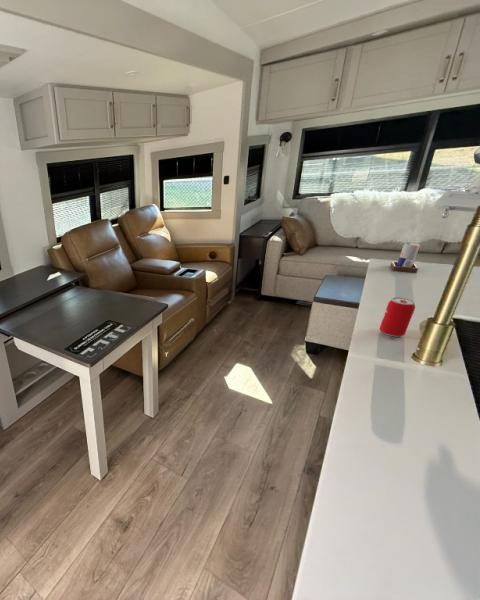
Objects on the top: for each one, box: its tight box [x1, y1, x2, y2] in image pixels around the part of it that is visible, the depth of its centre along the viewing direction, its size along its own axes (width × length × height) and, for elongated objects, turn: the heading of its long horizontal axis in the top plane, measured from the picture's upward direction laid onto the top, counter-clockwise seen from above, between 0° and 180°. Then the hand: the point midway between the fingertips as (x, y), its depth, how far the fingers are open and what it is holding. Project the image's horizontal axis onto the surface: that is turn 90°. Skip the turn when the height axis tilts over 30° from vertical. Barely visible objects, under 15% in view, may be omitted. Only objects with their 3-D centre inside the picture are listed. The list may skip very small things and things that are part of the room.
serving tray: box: [390, 261, 419, 274], centre depth 152 cm, size 8×8×2 cm
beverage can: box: [379, 296, 416, 338], centre depth 103 cm, size 6×6×12 cm
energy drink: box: [397, 241, 421, 268], centre depth 150 cm, size 5×5×12 cm
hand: (459, 218), depth 126 cm, fingers open, 8 cm apart
